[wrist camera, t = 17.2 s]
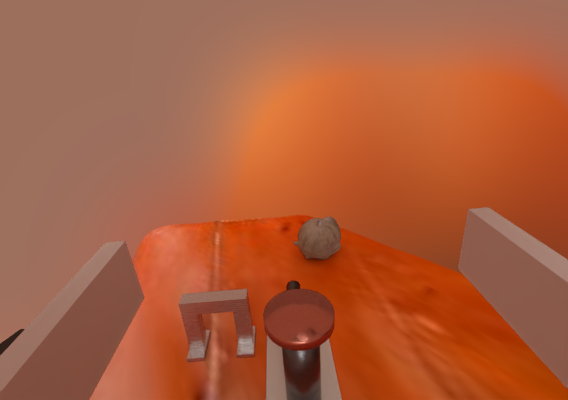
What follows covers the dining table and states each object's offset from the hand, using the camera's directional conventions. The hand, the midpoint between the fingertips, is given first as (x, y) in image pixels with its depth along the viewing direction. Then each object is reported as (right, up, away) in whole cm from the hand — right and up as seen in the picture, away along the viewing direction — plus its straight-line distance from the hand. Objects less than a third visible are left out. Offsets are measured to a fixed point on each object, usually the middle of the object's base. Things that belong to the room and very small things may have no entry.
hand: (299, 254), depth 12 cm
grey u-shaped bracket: (-10, -19, +34) cm, 40 cm away
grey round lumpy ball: (+7, -10, +53) cm, 54 cm away
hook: (+2, -19, +32) cm, 37 cm away
